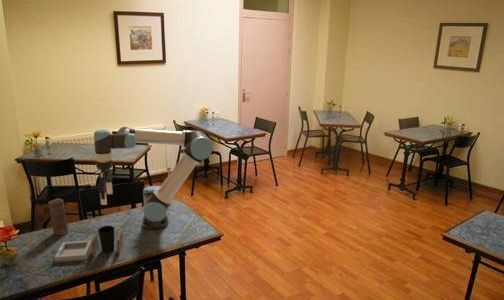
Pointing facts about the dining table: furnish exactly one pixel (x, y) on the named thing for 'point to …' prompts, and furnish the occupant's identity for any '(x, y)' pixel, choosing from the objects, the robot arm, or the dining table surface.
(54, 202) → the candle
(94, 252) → the beige holder
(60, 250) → the dock
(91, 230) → the dining table surface
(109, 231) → the cup
